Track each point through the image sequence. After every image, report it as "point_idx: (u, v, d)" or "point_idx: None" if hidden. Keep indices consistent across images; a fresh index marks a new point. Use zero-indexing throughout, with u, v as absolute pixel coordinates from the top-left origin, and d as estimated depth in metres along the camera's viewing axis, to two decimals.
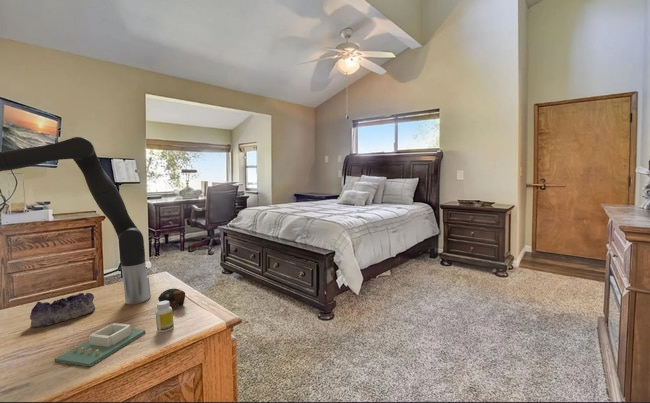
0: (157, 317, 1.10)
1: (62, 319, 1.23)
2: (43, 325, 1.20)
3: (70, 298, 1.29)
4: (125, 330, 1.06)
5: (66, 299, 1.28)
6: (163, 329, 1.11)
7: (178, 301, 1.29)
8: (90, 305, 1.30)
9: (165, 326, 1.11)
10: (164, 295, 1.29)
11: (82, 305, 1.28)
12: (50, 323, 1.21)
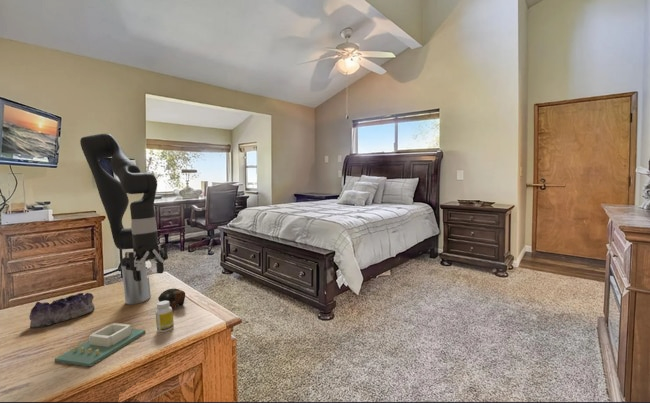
0: (157, 317, 1.10)
1: (62, 319, 1.23)
2: (43, 325, 1.20)
3: (69, 298, 1.29)
4: (125, 330, 1.06)
5: (65, 299, 1.28)
6: (163, 329, 1.11)
7: (178, 301, 1.29)
8: (90, 305, 1.30)
9: (165, 326, 1.11)
10: (164, 295, 1.29)
11: (82, 305, 1.28)
12: (50, 323, 1.21)
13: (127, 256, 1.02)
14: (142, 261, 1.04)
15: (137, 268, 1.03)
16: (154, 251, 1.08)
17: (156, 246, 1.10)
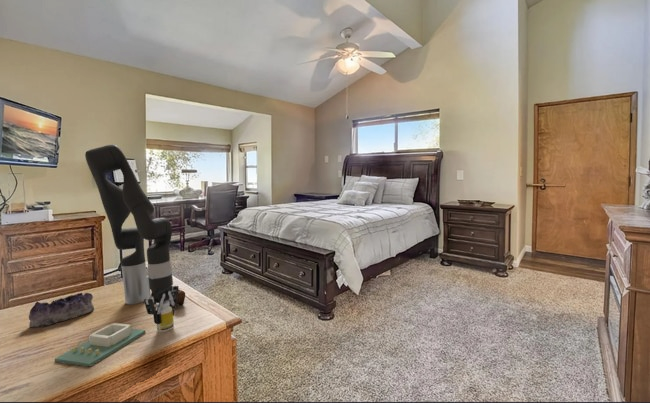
0: None
1: (61, 319, 1.23)
2: (42, 325, 1.20)
3: (69, 298, 1.29)
4: (125, 330, 1.06)
5: (65, 299, 1.28)
6: (163, 329, 1.10)
7: (178, 301, 1.29)
8: (89, 305, 1.30)
9: (165, 326, 1.11)
10: None
11: (81, 305, 1.28)
12: (49, 323, 1.21)
13: (147, 303, 1.06)
14: (161, 304, 1.09)
15: (158, 312, 1.09)
16: (169, 293, 1.13)
17: (170, 287, 1.15)
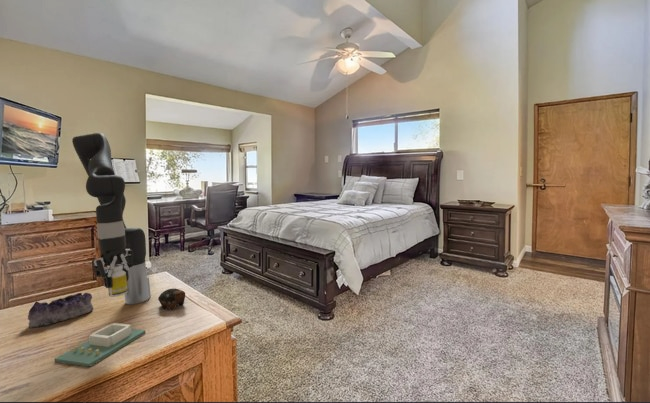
0: None
1: (60, 319, 1.23)
2: (41, 325, 1.20)
3: (68, 298, 1.29)
4: (125, 330, 1.06)
5: (64, 299, 1.28)
6: (115, 294, 1.03)
7: (178, 301, 1.29)
8: (88, 305, 1.30)
9: (117, 291, 1.04)
10: (164, 295, 1.29)
11: (80, 305, 1.28)
12: (48, 323, 1.21)
13: (95, 264, 0.99)
14: (112, 267, 1.02)
15: (108, 275, 1.01)
16: (122, 256, 1.06)
17: (124, 250, 1.08)
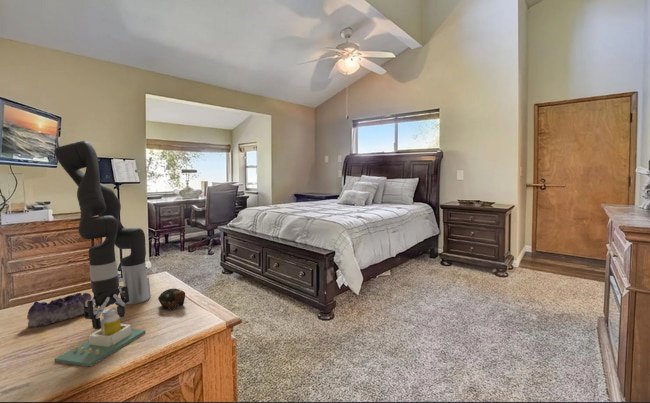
0: (102, 326, 1.03)
1: (59, 319, 1.23)
2: (40, 325, 1.20)
3: (67, 298, 1.29)
4: (125, 330, 1.06)
5: (63, 299, 1.28)
6: None
7: (178, 301, 1.29)
8: None
9: None
10: (164, 295, 1.29)
11: (79, 305, 1.28)
12: (47, 323, 1.21)
13: (86, 305, 0.98)
14: (102, 308, 1.01)
15: (97, 316, 1.00)
16: (115, 296, 1.05)
17: (117, 290, 1.07)
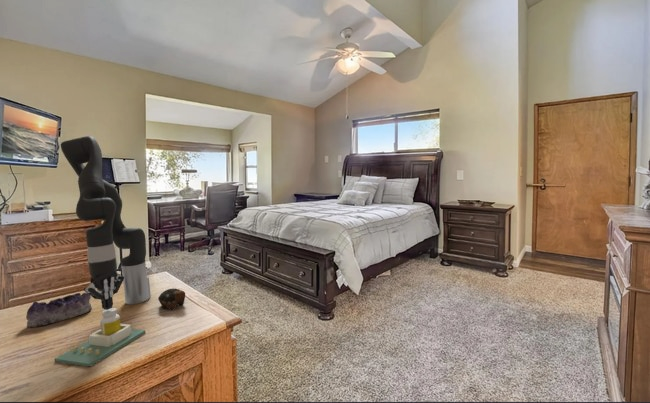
0: (102, 326, 1.03)
1: (58, 319, 1.23)
2: (39, 325, 1.20)
3: (67, 298, 1.29)
4: (125, 330, 1.06)
5: (62, 299, 1.28)
6: None
7: (178, 301, 1.29)
8: (86, 305, 1.30)
9: None
10: (164, 295, 1.29)
11: (78, 305, 1.28)
12: (46, 323, 1.21)
13: (88, 292, 0.99)
14: (106, 290, 1.03)
15: (106, 297, 1.03)
16: (112, 279, 1.05)
17: (116, 273, 1.07)
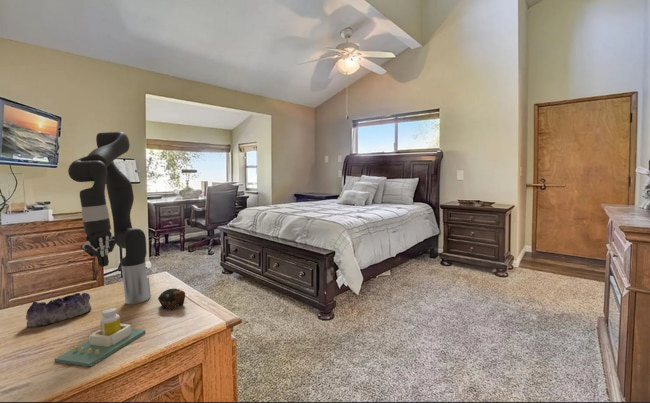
0: (102, 326, 1.03)
1: (58, 319, 1.23)
2: (39, 325, 1.20)
3: (66, 298, 1.29)
4: (125, 330, 1.06)
5: (62, 299, 1.28)
6: None
7: (178, 301, 1.29)
8: (86, 305, 1.30)
9: None
10: (164, 295, 1.29)
11: (78, 305, 1.28)
12: (46, 323, 1.21)
13: (85, 249, 1.05)
14: (101, 248, 1.09)
15: (102, 255, 1.09)
16: (107, 238, 1.11)
17: (110, 233, 1.13)
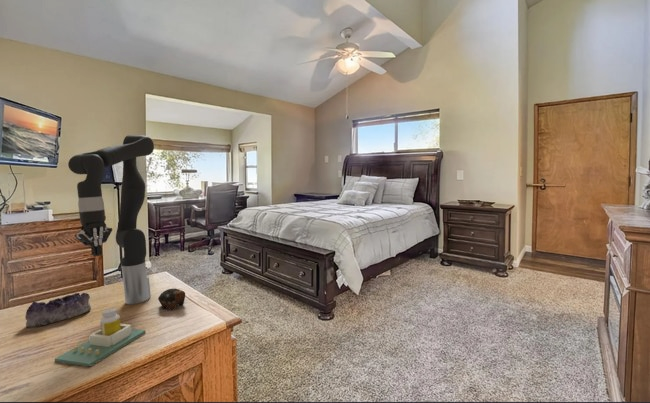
0: (102, 326, 1.03)
1: (57, 319, 1.23)
2: (38, 325, 1.20)
3: (66, 298, 1.29)
4: (125, 330, 1.06)
5: (62, 299, 1.28)
6: None
7: (178, 301, 1.29)
8: (85, 305, 1.30)
9: None
10: (164, 295, 1.29)
11: (77, 305, 1.28)
12: (45, 323, 1.21)
13: (79, 238, 1.10)
14: (95, 237, 1.14)
15: (95, 244, 1.14)
16: (101, 228, 1.16)
17: (104, 224, 1.18)
